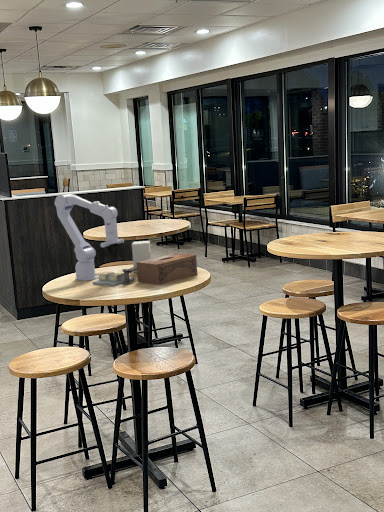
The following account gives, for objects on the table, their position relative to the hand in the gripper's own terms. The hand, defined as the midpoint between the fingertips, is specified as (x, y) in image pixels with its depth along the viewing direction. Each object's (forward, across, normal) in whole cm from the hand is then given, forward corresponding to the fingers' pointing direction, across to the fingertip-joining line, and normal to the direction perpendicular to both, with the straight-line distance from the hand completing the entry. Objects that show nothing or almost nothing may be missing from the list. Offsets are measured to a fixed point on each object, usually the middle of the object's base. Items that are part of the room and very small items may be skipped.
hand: (114, 259), depth 313 cm
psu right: (+9, -6, -7) cm, 13 cm away
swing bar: (+5, +1, -11) cm, 12 cm away
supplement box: (+10, +22, +1) cm, 24 cm away
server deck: (+10, -6, -6) cm, 13 cm away
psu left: (+9, -6, 0) cm, 11 cm away
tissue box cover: (+10, +10, -25) cm, 29 cm away
